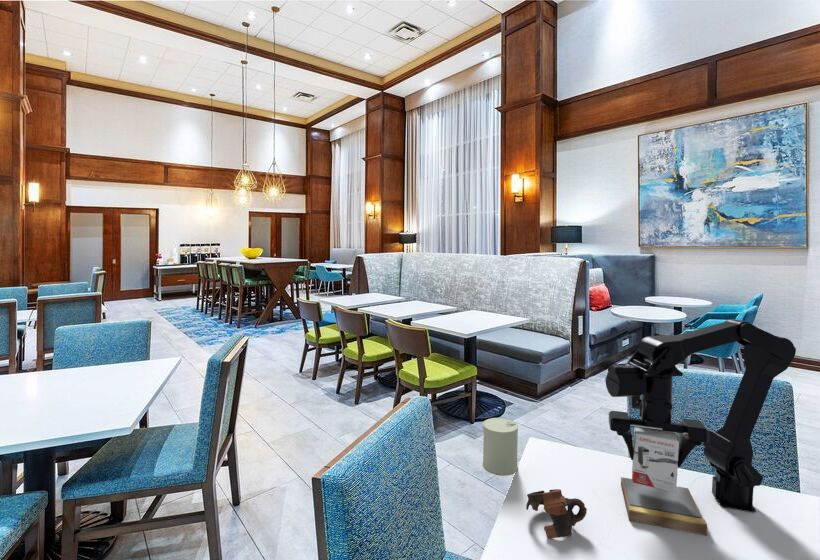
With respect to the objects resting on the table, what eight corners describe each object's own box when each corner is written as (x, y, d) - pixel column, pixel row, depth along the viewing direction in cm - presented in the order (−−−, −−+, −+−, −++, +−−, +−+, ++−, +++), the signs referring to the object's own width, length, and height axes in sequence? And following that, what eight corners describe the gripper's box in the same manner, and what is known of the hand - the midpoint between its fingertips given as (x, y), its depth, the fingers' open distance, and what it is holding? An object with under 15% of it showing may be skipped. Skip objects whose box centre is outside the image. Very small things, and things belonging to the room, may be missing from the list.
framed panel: (687, 496, 97) (688, 487, 97) (706, 535, 84) (707, 524, 84) (620, 485, 102) (621, 476, 102) (628, 520, 89) (629, 510, 88)
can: (523, 474, 107) (524, 428, 106) (489, 477, 106) (489, 431, 105) (509, 456, 116) (509, 414, 115) (477, 459, 115) (478, 417, 114)
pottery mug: (532, 542, 83) (522, 496, 87) (533, 534, 92) (524, 492, 95) (595, 534, 81) (581, 487, 84) (590, 527, 89) (578, 484, 93)
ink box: (631, 483, 93) (633, 432, 92) (631, 472, 98) (633, 424, 97) (677, 493, 89) (679, 440, 88) (675, 482, 94) (677, 431, 93)
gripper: (696, 387, 96) (694, 452, 97) (607, 379, 103) (606, 440, 104) (711, 404, 86) (708, 477, 87) (611, 394, 92) (610, 462, 94)
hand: (654, 462), depth 93 cm, fingers closed on ink box, 9 cm apart
